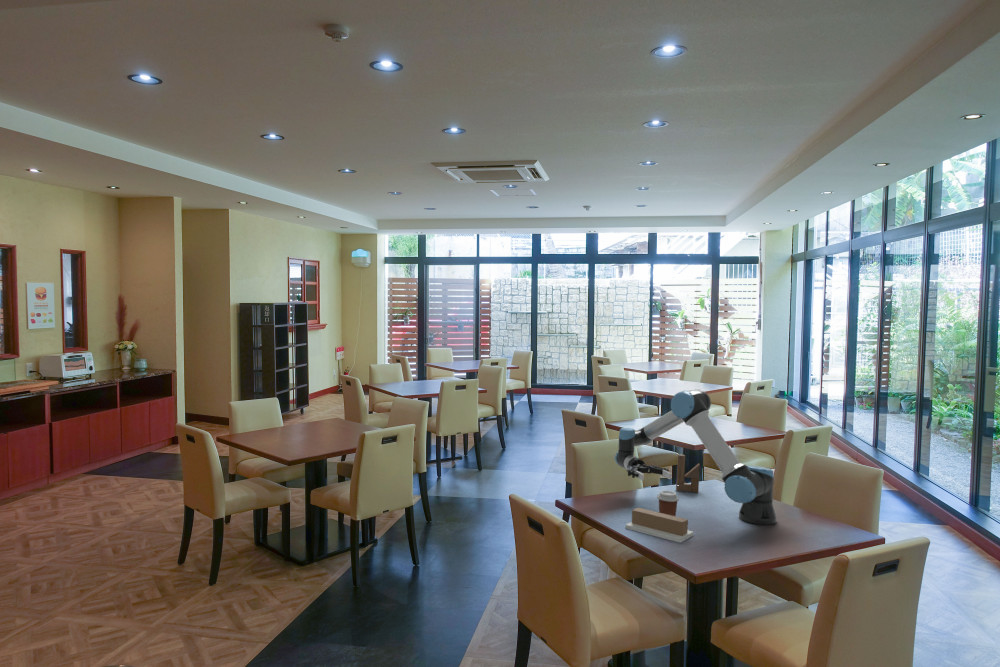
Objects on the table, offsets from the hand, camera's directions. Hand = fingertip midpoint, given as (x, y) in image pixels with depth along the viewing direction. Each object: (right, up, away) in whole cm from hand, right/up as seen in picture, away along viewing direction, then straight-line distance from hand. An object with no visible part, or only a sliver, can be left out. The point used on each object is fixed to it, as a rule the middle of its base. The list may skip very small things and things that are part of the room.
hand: (656, 476), depth 287 cm
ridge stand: (-5, -17, -24) cm, 30 cm away
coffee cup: (+2, -17, -9) cm, 19 cm away
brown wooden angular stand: (+25, -16, +40) cm, 50 cm away
